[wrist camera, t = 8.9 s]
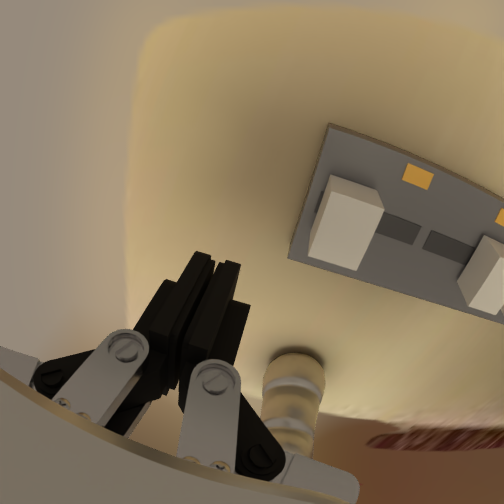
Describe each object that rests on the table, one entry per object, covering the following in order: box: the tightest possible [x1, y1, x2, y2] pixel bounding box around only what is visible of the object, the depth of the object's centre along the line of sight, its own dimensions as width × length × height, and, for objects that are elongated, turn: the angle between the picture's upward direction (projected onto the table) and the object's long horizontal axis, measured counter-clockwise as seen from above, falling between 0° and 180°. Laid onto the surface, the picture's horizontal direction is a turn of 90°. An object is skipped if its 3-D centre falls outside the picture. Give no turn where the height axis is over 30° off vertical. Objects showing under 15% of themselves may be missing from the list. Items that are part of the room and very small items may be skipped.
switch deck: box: [287, 123, 504, 324], centre depth 21 cm, size 26×10×2 cm, turn 77°
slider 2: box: [457, 235, 504, 315], centre depth 19 cm, size 3×4×3 cm
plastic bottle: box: [260, 353, 325, 459], centre depth 25 cm, size 6×7×20 cm
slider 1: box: [308, 174, 385, 271], centre depth 19 cm, size 3×4×3 cm
